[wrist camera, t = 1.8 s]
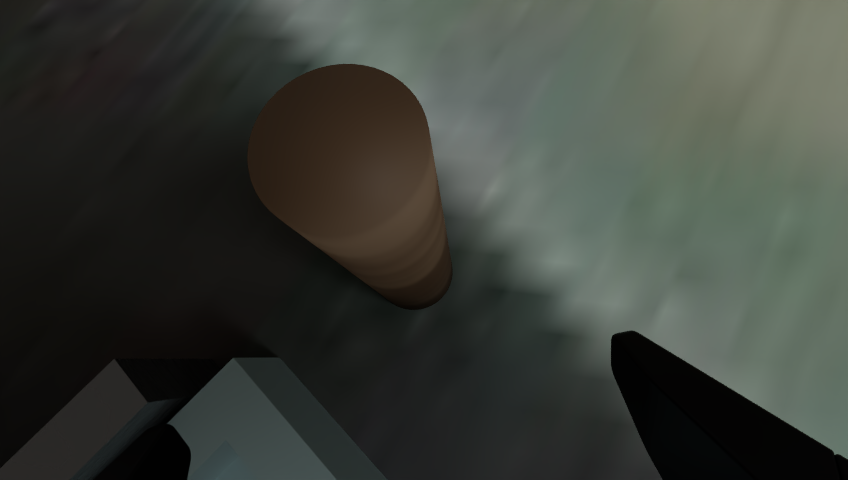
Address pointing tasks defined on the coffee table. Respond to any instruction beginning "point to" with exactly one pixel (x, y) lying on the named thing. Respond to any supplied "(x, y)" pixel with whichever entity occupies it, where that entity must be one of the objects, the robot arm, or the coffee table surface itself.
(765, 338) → the coffee table surface
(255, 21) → the coffee table surface
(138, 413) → the corner stop
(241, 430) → the socket block
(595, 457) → the coffee table surface
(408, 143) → the dowel
